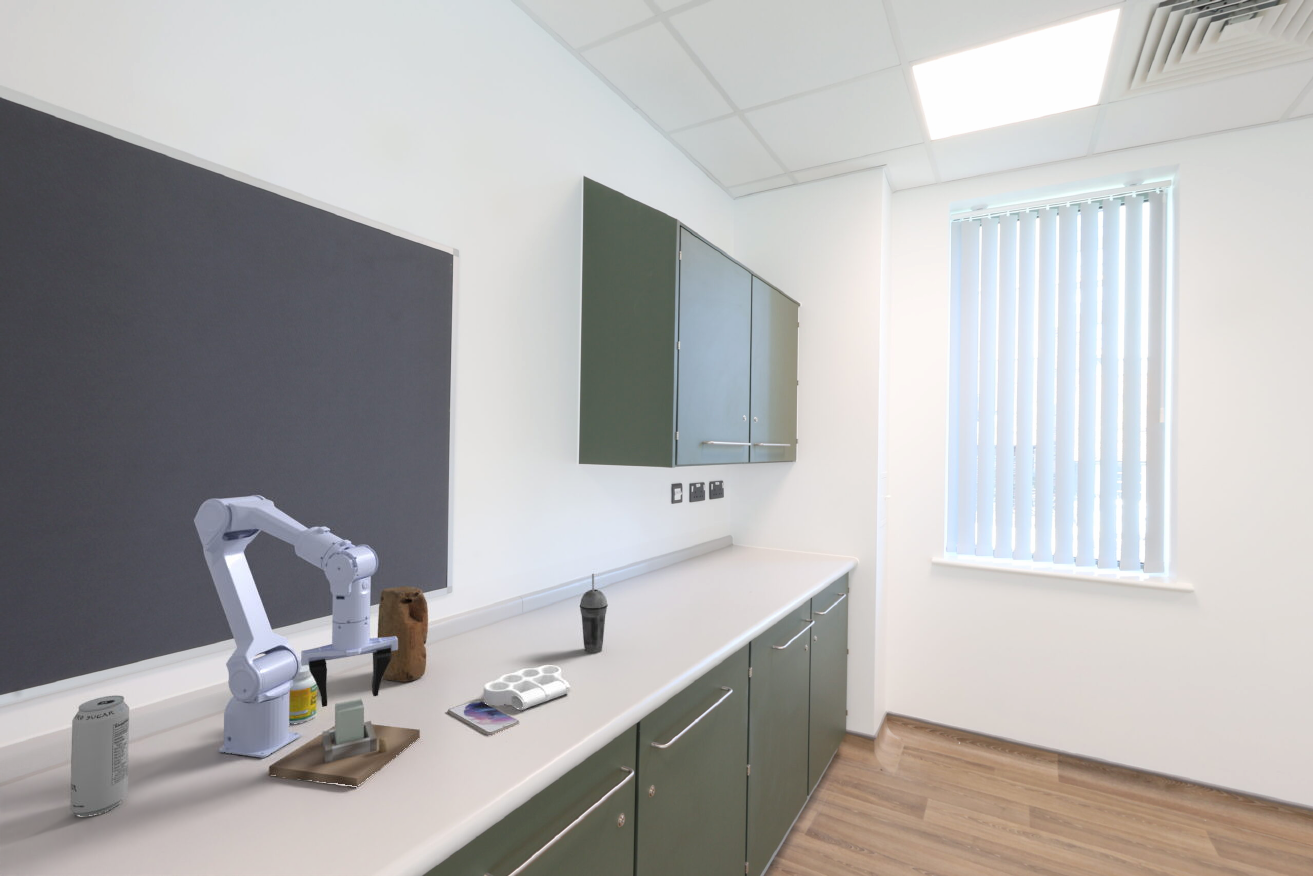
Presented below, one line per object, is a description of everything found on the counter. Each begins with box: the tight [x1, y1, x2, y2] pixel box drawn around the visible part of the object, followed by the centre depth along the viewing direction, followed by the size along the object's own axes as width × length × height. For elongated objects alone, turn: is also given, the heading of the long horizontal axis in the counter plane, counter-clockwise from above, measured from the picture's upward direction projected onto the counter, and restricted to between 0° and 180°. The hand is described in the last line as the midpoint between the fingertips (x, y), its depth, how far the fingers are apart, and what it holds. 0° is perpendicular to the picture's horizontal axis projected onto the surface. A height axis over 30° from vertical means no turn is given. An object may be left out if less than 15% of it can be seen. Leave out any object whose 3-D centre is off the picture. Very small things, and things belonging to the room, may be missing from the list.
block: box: [377, 585, 429, 683], centre depth 135 cm, size 11×8×20 cm
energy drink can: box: [69, 695, 130, 816], centre depth 85 cm, size 6×6×15 cm
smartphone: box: [447, 699, 520, 736], centre depth 114 cm, size 7×1×15 cm
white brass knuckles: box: [483, 664, 571, 711], centre depth 125 cm, size 3×18×15 cm
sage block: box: [334, 698, 365, 745], centre depth 100 cm, size 4×4×7 cm
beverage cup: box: [579, 573, 609, 654], centre depth 152 cm, size 7×7×20 cm
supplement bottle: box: [289, 665, 318, 725], centre depth 113 cm, size 5×5×10 cm
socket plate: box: [268, 720, 421, 786], centre depth 100 cm, size 16×16×4 cm
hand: (350, 699), depth 100 cm, fingers open, 7 cm apart
